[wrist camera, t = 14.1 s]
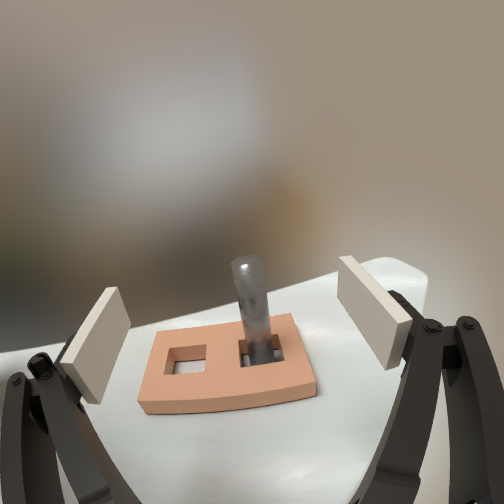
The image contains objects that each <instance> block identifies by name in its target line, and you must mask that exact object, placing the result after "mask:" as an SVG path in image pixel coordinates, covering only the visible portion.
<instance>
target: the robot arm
mask: <svg viewBox="0 0 504 504" xmlns="http://www.w3.org/2000/svg"><path fill="white" fill-rule="evenodd" d="M337 298H338V299H339V301H340V302H341V304H342V305H343V307H344V308H345V310H346V311H347V312H348V314H349V315H350V317H351V318H352V320H353V321H354V323H355V324H356V326H357V327H358V329H359V331H360V332H361V334H362V335H363V337H364V338H365V340H366V341H367V343H368V344H369V346H370V347H371V349H372V351H373V352H374V354H375V355H376V357H377V358H378V360H379V362H380V363H381V365H382V366H383V368H384V370H385V371H386V370H389V369H392V368H394V367H397V366H399V364H400V361H401V358H402V357H403V359H404V360H405V361H406V364H405V367H404V369H403V372H402V375H401V377H400V378H401V381H400V385H399V388H398V392H397V395H396V398H395V401H394V404H393V407H392V410H391V413H390V416H389V419H388V422H387V424H386V427H385V430H384V432H383V435H382V438H381V440H380V443H379V445H378V447H377V450H376V452H375V454H374V457H373V459H372V461H371V463H370V465H369V468H368V470H367V472H366V474H365V476H364V478H363V480H362V482H361V484H360V486H359V488H358V490H357V491H356V493H355V495H354V496H353V498H352V499H351V501H350V502H349V504H413V502H414V500H415V497H416V495H417V492H418V489H419V486H420V480H421V479H420V477H419V471H420V468H421V465H422V462H423V459H424V455H425V451H426V448H427V444H428V441H429V437H430V432H431V428H432V424H433V418H434V414H435V409H436V404H437V398H438V391H439V385H440V377H441V370H442V376H443V382H444V388H445V396H446V404H447V413H448V424H449V440H450V485H449V504H504V390H503V386H502V383H501V380H500V376H499V373H498V370H497V367H496V364H495V362H494V359H493V356H492V353H491V350H490V348H489V346H488V343H487V340H486V338H485V335H484V333H483V330H482V328H481V326H480V324H479V322H478V321H477V320H476V319H474V318H473V317H470V316H462V317H460V318H458V320H457V322H456V325H455V326H447V327H443V325H442V324H441V323H440V322H438V321H436V320H433V319H424V317H423V316H422V315H421V314H420V313H419V312H418V311H417V310H416V309H415V308H414V307H413V306H412V305H410V303H409V302H408V301H406V299H405V298H404V297H403V296H402V295H401V294H399V293H397V292H395V291H393V290H391V291H386V290H385V289H384V288H383V287H382V286H381V285H380V284H379V283H378V282H377V281H376V280H375V279H374V278H373V277H372V276H371V275H370V274H369V273H368V272H367V271H366V270H365V269H364V268H363V267H362V266H361V265H360V264H359V263H358V262H357V261H356V260H355V259H354V258H353V257H352V256H351V255H349V256H343V257H339V268H338V291H337ZM130 325H131V323H130V320H129V317H128V315H127V312H126V310H125V307H124V304H123V302H122V299H121V296H120V293H119V290H118V287H110V288H106V290H105V291H104V293H103V294H102V295H101V297H100V298H99V300H98V301H97V303H96V304H95V306H94V307H93V309H92V310H91V312H90V313H89V315H88V316H87V318H86V320H85V321H84V323H83V324H82V326H81V327H80V329H79V331H78V332H75V333H74V334H73V335H72V336H71V337H69V339H68V341H67V342H66V345H65V346H64V347H63V350H61V352H60V354H59V356H58V357H57V359H56V361H55V362H54V364H53V362H52V360H51V359H50V357H49V356H48V354H47V353H45V352H41V353H38V354H36V355H34V356H33V357H32V358H31V359H30V360H29V362H28V364H27V367H28V369H29V370H30V372H31V373H32V375H33V376H34V377H35V378H33V379H28V378H27V377H26V376H25V374H24V373H22V372H17V373H15V374H13V375H12V376H11V377H10V379H9V380H8V383H7V388H6V394H5V400H4V407H3V416H2V426H1V441H0V478H1V492H2V501H3V504H65V502H64V497H63V493H62V488H61V483H60V478H59V472H58V466H57V459H56V452H57V455H58V457H59V460H60V462H61V465H62V467H63V469H64V472H65V474H66V476H67V479H68V481H69V483H70V485H71V487H72V489H73V491H74V493H75V495H76V497H77V499H78V502H79V504H142V503H141V502H140V501H139V499H138V498H137V497H136V495H135V494H134V493H133V491H132V490H131V488H130V487H129V486H128V484H127V483H126V481H125V480H124V478H123V477H122V475H121V474H120V472H119V471H118V469H117V468H116V466H115V464H114V463H113V461H112V460H111V458H110V456H109V455H108V453H107V451H106V450H105V448H104V446H103V444H102V442H101V441H100V439H99V437H98V435H97V433H96V431H95V429H94V427H93V426H92V424H91V422H90V419H89V417H88V415H87V413H86V411H85V409H84V407H83V405H82V404H81V402H80V399H81V396H83V398H84V399H85V400H86V402H87V403H90V404H101V401H102V398H103V395H104V392H105V389H106V386H107V384H108V381H109V378H110V376H111V373H112V370H113V368H114V365H115V362H116V360H117V357H118V355H119V352H120V350H121V347H122V345H123V342H124V340H125V337H126V335H127V333H128V330H129V328H130ZM29 414H30V415H29ZM55 449H56V451H55Z"/></svg>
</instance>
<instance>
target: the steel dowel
mask: <svg viewBox="0 0 504 504" xmlns="http://www.w3.org/2000/svg"><path fill="white" fill-rule="evenodd" d="M232 270H233V275H234V281H235V286H236V292H237V298H238V303H239V309H240V314H241V319H242V325H243V330H244V335H245V340H246V345H247V351H248V356H249V361H250V366H256V365H263V364H269V363H275V359H274V351H273V342H272V334H271V325H270V317H269V309H268V300H267V292H266V285H265V276H264V268H263V260H262V258H261V257H260V256H257V255H246V256H241V257H238V258H236V259H234V260H233V261H232Z"/></svg>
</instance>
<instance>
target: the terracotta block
mask: <svg viewBox="0 0 504 504" xmlns="http://www.w3.org/2000/svg"><path fill="white" fill-rule="evenodd" d="M270 325H271V334H272V342H273V349H277V348H279V349H280V353H281V357H282V361H280V362H275V363H269V364H263V365H256V366H250V367H243V368H242V358H241V354H247V353H248V351H247V345H246V340H245V335H244V330H243V325H242V321H238V322H231V323H224V324H217V325H209V326H201V327H193V328H184V329H175V330H165V331H157V334H156V337H155V340H154V344H153V347H152V350H151V353H150V357H149V360H148V363H147V367H146V370H145V374H144V377H143V381H142V385H141V388H140V392H139V396H138V399H137V401H138V403H139V404H140V406H141V407H142V409H143V410H144V412H145V413H146V414H180V413H201V412H215V411H226V410H235V409H244V408H251V407H259V406H265V405H271V404H277V403H283V402H288V401H293V400H298V399H303V398H308V397H312V396H316V379H315V376H314V374H313V371H312V368H311V365H310V363H309V360H308V357H307V355H306V352H305V349H304V347H303V344H302V341H301V339H300V336H299V333H298V331H297V328H296V325H295V323H294V320H293V317H292V315H291V313H287V314H282V315H276V316H270ZM197 359H206V362H205V372H199V373H187V374H173V369H174V363H175V361H187V360H197Z"/></svg>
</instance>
